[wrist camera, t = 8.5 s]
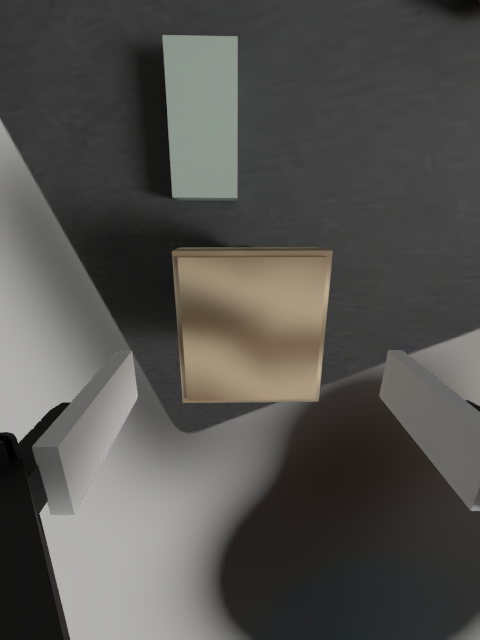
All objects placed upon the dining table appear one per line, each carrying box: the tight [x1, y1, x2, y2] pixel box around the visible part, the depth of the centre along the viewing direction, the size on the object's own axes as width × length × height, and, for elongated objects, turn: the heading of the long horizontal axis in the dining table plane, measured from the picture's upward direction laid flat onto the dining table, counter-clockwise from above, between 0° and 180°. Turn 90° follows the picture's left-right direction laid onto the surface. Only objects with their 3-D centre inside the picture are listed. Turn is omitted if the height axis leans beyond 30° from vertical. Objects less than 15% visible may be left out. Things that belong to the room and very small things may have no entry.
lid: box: [172, 247, 333, 403], centre depth 23 cm, size 12×11×3 cm
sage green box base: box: [163, 35, 238, 201], centre depth 27 cm, size 12×6×4 cm, turn 0°
